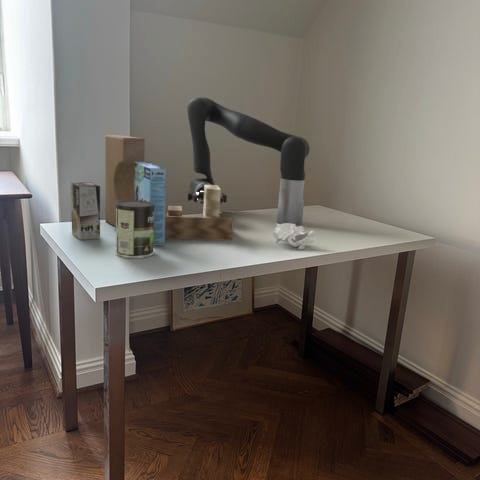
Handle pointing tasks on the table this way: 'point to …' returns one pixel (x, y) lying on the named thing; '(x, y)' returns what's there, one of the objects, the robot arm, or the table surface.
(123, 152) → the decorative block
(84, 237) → the coffee box
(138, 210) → the coffee can
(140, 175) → the light blue carton
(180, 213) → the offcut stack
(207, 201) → the light wooden block
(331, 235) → the table surface
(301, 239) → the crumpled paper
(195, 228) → the brown wooden block
